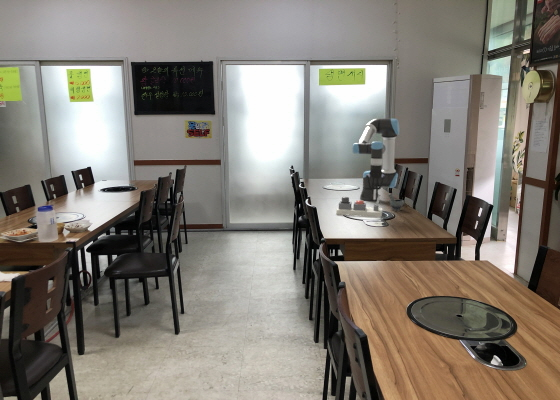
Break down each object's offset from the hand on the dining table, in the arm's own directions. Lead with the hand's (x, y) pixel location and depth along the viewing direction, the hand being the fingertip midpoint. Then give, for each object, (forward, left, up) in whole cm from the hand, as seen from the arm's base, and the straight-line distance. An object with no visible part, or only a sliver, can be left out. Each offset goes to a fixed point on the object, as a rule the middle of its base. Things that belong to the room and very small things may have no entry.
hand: (374, 199), depth 308 cm
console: (0, -10, -10) cm, 14 cm away
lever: (0, +1, -6) cm, 6 cm away
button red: (0, -10, -7) cm, 12 cm away
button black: (0, -20, -5) cm, 20 cm away
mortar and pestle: (-19, +14, -11) cm, 26 cm away
